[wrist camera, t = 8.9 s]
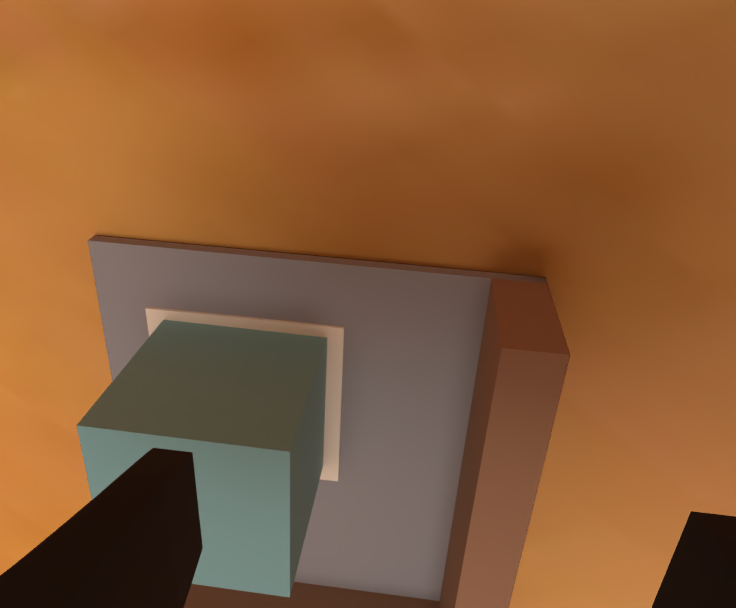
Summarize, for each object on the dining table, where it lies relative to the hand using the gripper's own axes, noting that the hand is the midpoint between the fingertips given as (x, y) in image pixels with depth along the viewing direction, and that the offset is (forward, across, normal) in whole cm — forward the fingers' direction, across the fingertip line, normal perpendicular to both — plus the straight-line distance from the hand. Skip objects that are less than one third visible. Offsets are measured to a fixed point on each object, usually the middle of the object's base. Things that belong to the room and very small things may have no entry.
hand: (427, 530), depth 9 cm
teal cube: (+9, +6, +5) cm, 12 cm away
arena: (+9, +4, +8) cm, 13 cm away
